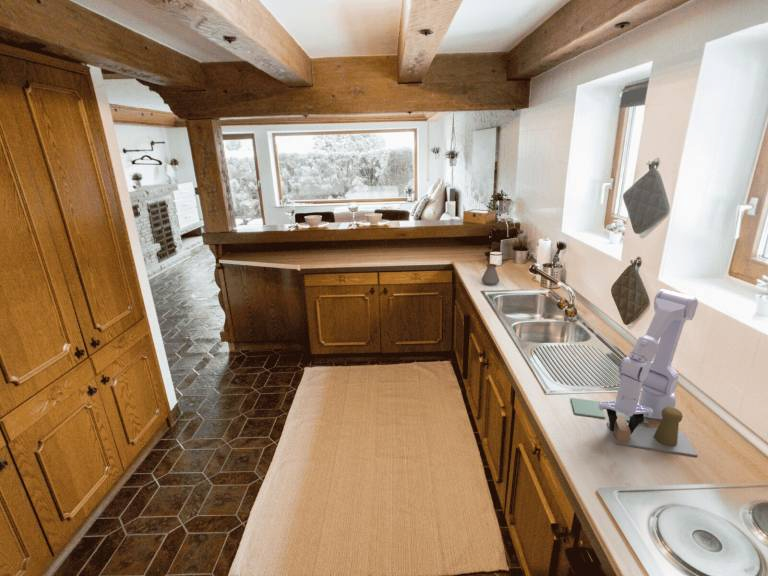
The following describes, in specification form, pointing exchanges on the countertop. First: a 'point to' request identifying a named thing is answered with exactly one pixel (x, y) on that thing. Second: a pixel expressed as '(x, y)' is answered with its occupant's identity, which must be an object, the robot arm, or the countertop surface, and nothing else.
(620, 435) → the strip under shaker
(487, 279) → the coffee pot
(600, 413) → the pair of green tiles
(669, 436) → the olive rounded upright post
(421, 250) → the countertop surface
